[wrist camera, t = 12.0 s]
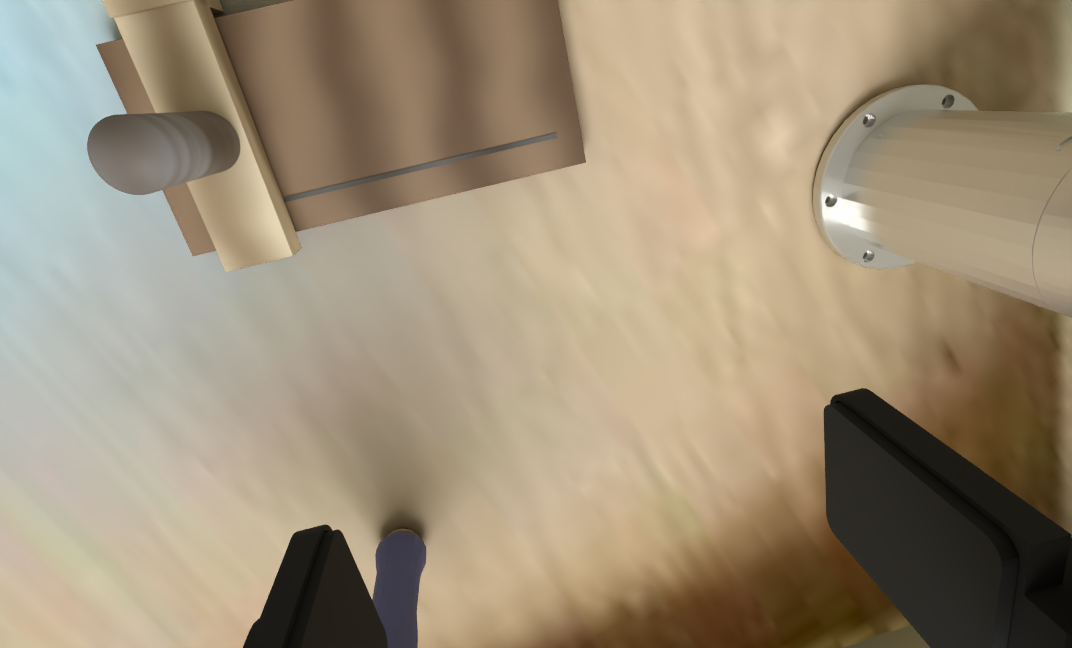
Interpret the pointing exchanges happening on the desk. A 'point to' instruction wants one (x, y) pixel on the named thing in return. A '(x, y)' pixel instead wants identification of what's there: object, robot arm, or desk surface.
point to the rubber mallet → (399, 586)
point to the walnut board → (388, 101)
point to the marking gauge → (193, 131)
